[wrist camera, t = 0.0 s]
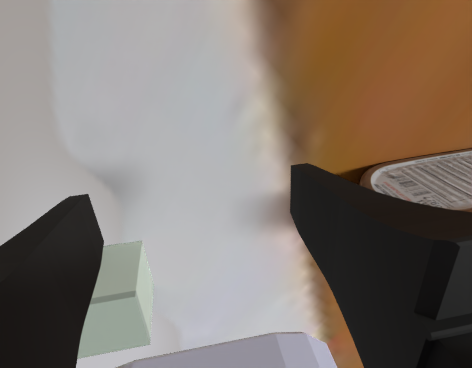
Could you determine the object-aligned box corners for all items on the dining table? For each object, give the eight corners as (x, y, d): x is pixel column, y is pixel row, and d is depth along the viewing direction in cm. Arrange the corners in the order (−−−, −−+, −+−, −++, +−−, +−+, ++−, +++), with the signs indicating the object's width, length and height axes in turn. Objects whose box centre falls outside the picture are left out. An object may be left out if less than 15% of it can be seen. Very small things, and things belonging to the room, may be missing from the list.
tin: (335, 198, 26) (400, 275, 18) (338, 161, 24) (410, 229, 17) (509, 168, 27) (632, 227, 20) (521, 132, 26) (660, 182, 18)
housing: (153, 283, 27) (149, 344, 22) (63, 299, 26) (39, 366, 21) (142, 239, 25) (135, 296, 20) (42, 255, 24) (10, 318, 19)
